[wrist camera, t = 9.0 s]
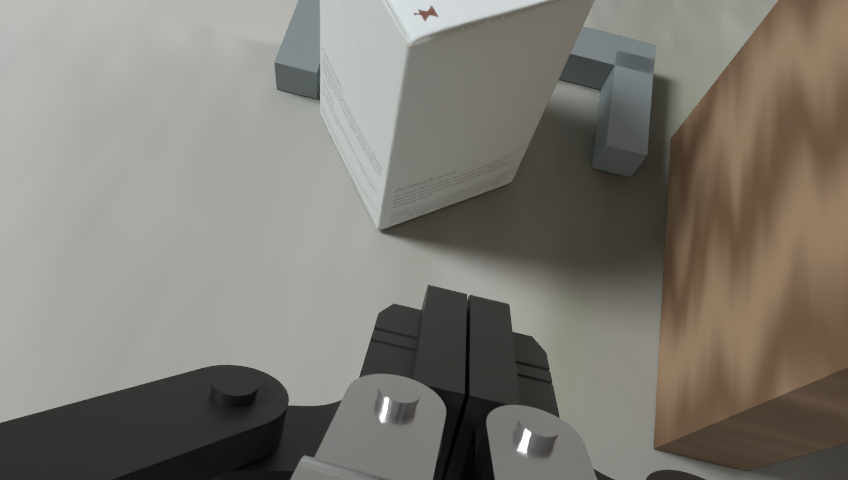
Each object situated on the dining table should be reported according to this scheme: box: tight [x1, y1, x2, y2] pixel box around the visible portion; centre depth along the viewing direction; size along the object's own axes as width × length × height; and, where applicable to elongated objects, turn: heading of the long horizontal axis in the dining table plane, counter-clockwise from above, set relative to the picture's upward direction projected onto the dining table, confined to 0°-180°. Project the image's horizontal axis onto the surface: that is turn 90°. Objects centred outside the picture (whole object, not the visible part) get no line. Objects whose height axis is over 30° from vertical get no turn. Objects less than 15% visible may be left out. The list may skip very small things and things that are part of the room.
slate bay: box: [275, 0, 655, 177], centre depth 36 cm, size 7×18×2 cm, turn 78°
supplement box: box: [320, 0, 594, 230], centre depth 29 cm, size 7×7×13 cm
